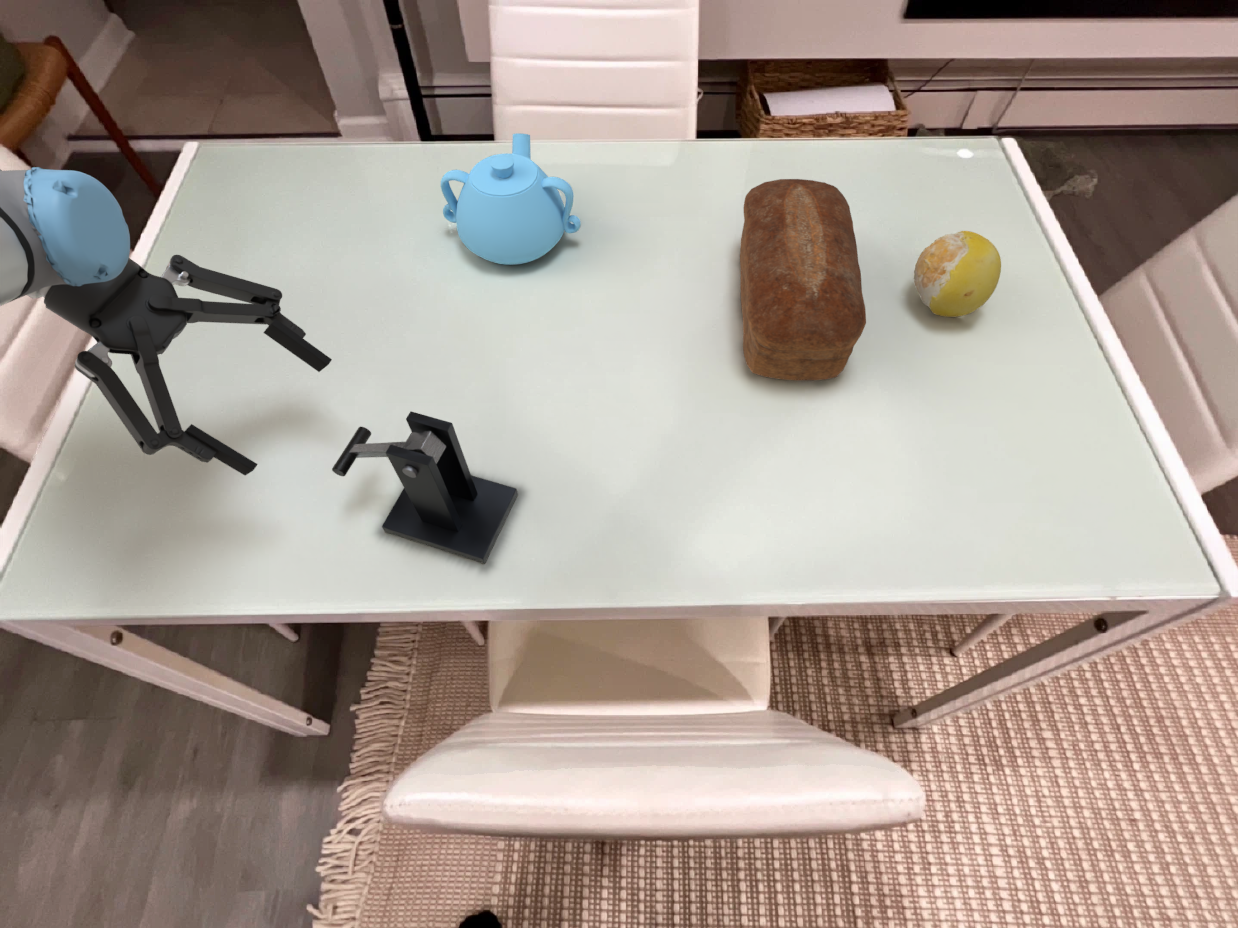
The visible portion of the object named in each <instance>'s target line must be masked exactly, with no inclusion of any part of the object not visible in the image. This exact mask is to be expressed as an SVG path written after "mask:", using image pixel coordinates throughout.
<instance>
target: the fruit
mask: <svg viewBox="0 0 1238 928" xmlns="http://www.w3.org/2000/svg"><path fill="white" fill-rule="evenodd" d="M1000 255H1001V254H1000V253H999V250H998V249H997V247H996V246H995V244H994V243H992V241H990V239H988V238H987V237H985V236H983V235H981V234H980V233H978V232H974V231H971V230H961V231H957V232H956V233H948V234H944V235H942V236H940V237H938V238H936V239H935V240H934V241H933V242H931V244H929V246H927V247H925V248H924V249H923V251H922V252H921V253H920V254H919V256H918V258H917V260H916V263H915V265H914V270H913V283H914V287H915V289H916V292H917V294H918V295H919V297H920V300H921V302H922V304H923V305H925V306H926V307H928V308H929V310H930V311H931V313H932V314H933V315H936V316H941V317H946V318H947V317H948V318H954V317H955V318H956V317H962V316H966V315H969V314H972V313H974V312H975V311H976V310H979V308H981V307H983V305H984V304H985V303H987V302H988V301H989V300H990V298H991V297H992V295H993V294H994V292H995V290H996V288H997V286H998V284H999V281H1000V277H1001V272H1002V260H1001V259H1002V258H1001V256H1000Z"/></svg>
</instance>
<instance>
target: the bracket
mask: <svg viewBox="0 0 1238 928" xmlns="http://www.w3.org/2000/svg"><path fill="white" fill-rule="evenodd" d="M405 421H406V423H407V426H408V427H409V430H410V432H411V433H412V432H424V431H431V432H432V433H433V434H435V435H436V436H437V437H438V438H439V439H440V440H441V441H442V442H443V443H444V444H445V445H446V448H445V450H444V452H443V453H442V455H441V457H440V459H439V461H438V462H437V464H436V463H435V461H434V458H433V457H432V456H429V455H425V454H422V453H418V452H415V451H411V450H408V449H405V448H401V447H398V446H394V445H390V446H389V448H388V449H387V451H386V455H387V457H386V458H387V459H388V460H389V462H390V465H391V466H392V468H393V470H394V472H395V473H396V475H397V477H398V479H399V481H400V483H401V485H402V487H403V489H402V491H401V492H400V494H399V495H398V497H397V499H396V501H395V502H394V504H393V506H392V508H391V509H390V511H389V513H388V514H387V517H386V518H385V520H384V522H383V523H382V525H381V528H382V530H383V531H384V533H387V534H390V535H393V536H396V537H400V538H403V539H406V540H409V541H412V542H416V543H418V544H423V545H424V546H428V547H431V548H434V549H438V550H440V551H444V552H447V553H450V554H453V555H456V556H460V557H463V558H466V559H468V560H472V561H475V562H479V563H481V564H486V563H487V561H488V558H489V556H490V554H491V553H492V550H493V548H494V546H495V544H496V543H497V540H498V537H499V535H500V533H501V531H502V529H503V527H504V524H505V523H506V520H507V518H508V516H509V514H510V512H511V510H512V508H513V506H514V503H515V501H516V500H517V497H518V496H519V493H518V489H517V488H516V487H513V486H509V485H506V484H502V483H499V482H496V481H493V480H490V479H489V480H488V479H485V478H482V477H478V476H476V475H473V474H472V473H471V471H470V468H469V465H468V462H467V460H466V457H465V455H464V452H463V449H462V447H461V446H462V445H461V444H460V441H459V439H458V435H457V432H456V430H455V427H454V424H453V422H451V421H447V420H443V419H440V418H436V417H434V416H429V415H425V414H422V413H418V412H415V411H409V413H408V415H407V416H406V418H405Z"/></svg>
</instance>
